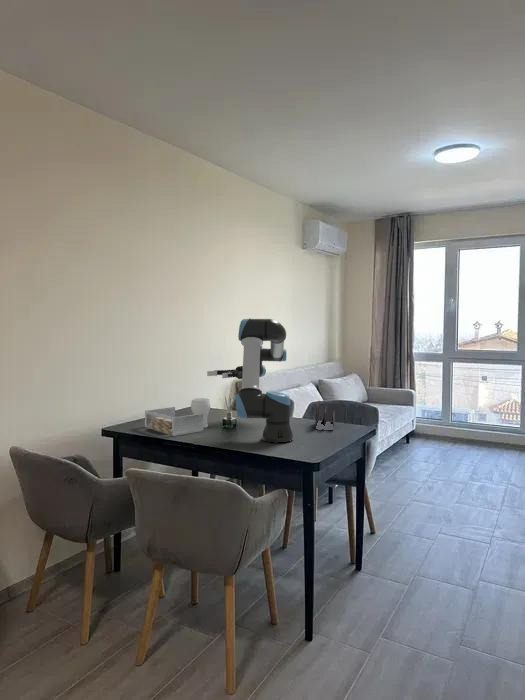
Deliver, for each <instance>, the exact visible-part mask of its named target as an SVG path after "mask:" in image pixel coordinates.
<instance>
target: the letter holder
mask: <svg viewBox="0 0 525 700" xmlns="http://www.w3.org/2000/svg"><path fill="white" fill-rule="evenodd" d="M320 403H321V401H320V400H318V401H317V403H316V408H315V420H314V423H315V424H314V425H315V426H314V428H315V427H316V426H317V423H318V421H320V409H321V408H320V406H321V404H320ZM323 413H324V415H323V417H322V419H321V421H322V422H321V424H323V425H324V426H325V424H326V422H331V424H333V427H334V428H335V426H334V423H335V424H336V411H335V410H333V412H332V419H331V421H330V420H329V421H328V406H327V405H325V407H324V412H323Z"/></svg>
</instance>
